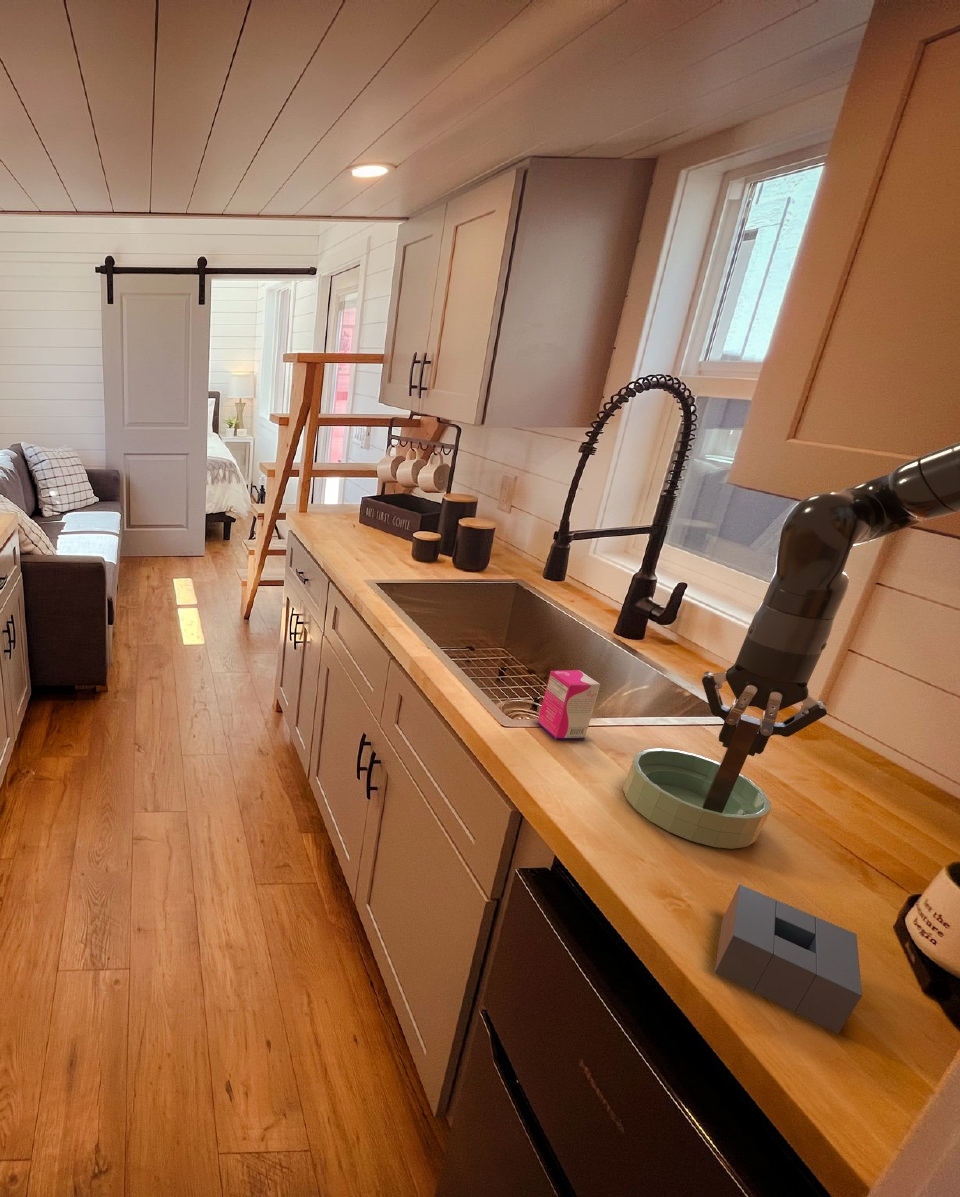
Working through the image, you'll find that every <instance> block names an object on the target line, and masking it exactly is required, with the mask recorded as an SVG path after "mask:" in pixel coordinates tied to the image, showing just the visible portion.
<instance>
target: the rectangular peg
mask: <svg viewBox="0 0 960 1197" xmlns="http://www.w3.org/2000/svg"><path fill="white" fill-rule="evenodd" d="M761 721H762V718H758V717H754V716H752V715H747V714H744V713H743V714H742V715H741V717H740V718H739V720H738V722H737V728H736V731H735V733H734V735H733V738H732V740H731V742H730V745H729V747H728V748H726V747H725V750H724V753H723V755H722V757H721V760H720V762H719V763H720V765H719V767H718V769H717V772H716V774H715V776H714V779H713V781H712V784H711V786H710V788H709V791H708V793H707V795H706V798H705V800H704V803H703V806H702V808H703V809H707V810H711V811H715V812H719V813H723V810H724V808H725V806H726V804H727V801H728V799H729V797H730V794H731V792H732V790H733V788H734V785H735V783H736V781H737V778H738V776H739V774H741V771H742V769H743V767H744V765H745V762H746V760H747V757H748V756H749V755H748V753H749V751H750V748H751V746H752V744H753V742H754V739H755V737H756V735H757V733H758V730H759V728H760V726H761Z"/></svg>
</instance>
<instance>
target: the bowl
mask: <svg viewBox="0 0 960 1197" xmlns="http://www.w3.org/2000/svg"><path fill="white" fill-rule="evenodd" d="M719 765H720V762H718V761H716V760H713V759H710V758H708V757H704V756H702V755H698V754H695V753H692V752H687V751H682V750H677V749H669V748H662V747H661V748H660V747H657V748H656V747H655V748H648V749H643V750H642V751H638V752H637V753H635V754H634V757H633V760H632V762H631V765H630V768H629V770H628V773H627V776H626V779H625V780H624V784H623V787H622V790H623V793H624V796H625V799H626V800H627V802H628V803H629V804H630V805H631V806H632V807H633V809H634V810H635V811H636V812H638V813H639V814H640V815H641V816H643V817H645V818H646V820H648V821H650V822H651V823H653V824H654V825H656V826H658V827H660V828H662V829H663V830H665V831H667V832H669V833H670V834H674V835H676V836H678V837H681V838H683V839H685V840H688V841H690V842H694V843H697V844H700V845H706V846H709V847H713V848H720V849H721V848H722V849H730V850H731V849H732V850H733V849H741V848H747V847H750V846H751V845H752V844H754V843H755V842H756V841H757V840H758V837H759V836H760V833H761V831H762V829H763V827H764V825H765V823H766V820H768V817H769V815H770V812H771V806H772V801H771V800H770V799H769V797H768V795H767V794H766V792H765V791H764V790H763V789H762V788H760V787H759V786H758V785H757V783H755V782H754V781H753V780H751V779H750V778H749V777H746V776H745V775H743V774H742V773H740V774H739V776H738V778H737V781H736V783H735V785H734V788H733V790H732V792H731V794H730V797H729V799H728V801H727V804H726V806H725V808H724V810H723V813H719V812H715V811H711V810H707V809H703V808H702V806H703V803H704V800H705V798H706V795H707V793H708V791H709V788H710V786H711V784H712V781H713V779H714V776H715V774H716V772H717V769H718V767H719Z"/></svg>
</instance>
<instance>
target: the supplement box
mask: <svg viewBox="0 0 960 1197" xmlns="http://www.w3.org/2000/svg"><path fill="white" fill-rule="evenodd" d="M600 688H601V684H600V683H599V682H598V681H596V680H594V678H591V677H590V676H589V675H587V674H586V673H584V672H583V671H581V670H580V669H575V670H571V669H570V670H551V671H550V673H549V676H548V680H547V684H546V688H545V692H544V695H543V698H542V704H541V708H540V711H539V714H538V718H537V723H536V724H537V725H539V727H540V728H542V729H543V730H544V732H546V733H547V734H548V735H549V736H551V738H552V739H553V740H555V741H580V740H581V741H582V740H583V741H585V740H586V736H587V732H588V729H589V726H590V722H591V719H592V716H593V711H594V708H595V705H596V701H597V698H598V694H599V691H600Z"/></svg>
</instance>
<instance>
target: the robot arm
mask: <svg viewBox="0 0 960 1197" xmlns="http://www.w3.org/2000/svg"><path fill="white" fill-rule="evenodd" d="M956 513H960V441H958V442H955V443H953V444H951V445H948V446H945V447H943V448H939V449H937V450H935V451H931V452H929V453H927V454H924V455H922V456H919V457H916V458H914V459H912V460H910V461H907V462H905V463H903V464H901V465H898V466H897V467H896V468H894V469H893V470H892V472H890V473H887V474H884V475H881V476H879V477H876V478H873V479H871V480H867V481H865V482H862V483H860V484H857V485H853V486H851V487H848V488H845V489H842V490H841V489H840V490H837V491H831V492H830V491H829V492H823V493H817V494H813V495H810V496H807V497H806V498H804V499H802V500H801V501H799V502H798V503H796V505H794V506H793V507H792V509H791V510H790V511H789V513H788V514H787V517H786V518H785V520H784V522H783V524H782V527H781V530H780V534H779V535H780V536H779V539H778V547H777V552H776V560H775V572H774V574H773V576H772V578H771V580H770V583H769V585H768V587H767V590H766V593H765V595H764V598H763V600H762V602H761V604H760V605H759V607H758V609H757V611H756V612H755V614H754V616H753V618H752V620H751V623H750V625H749V626H748V629H747V633H746V635H745V638H744V640H743V643H742V645H741V647H740V650H739V653H738V655H737V658H736V660H735V662H734V664H733V665H732V666H731V667H729V668H727V670H726V671H725V672H716V673H714V672H712V671H705V672H704V673H703V675H702V677H701V678H702V679H701V683H702V686H703V689H704V692H705V696H706V699H707V703H708V706H709V709H710V713H711V714H712V715H713V717H719V718H720V719H722V720H723V724H722V727H721V729H720V732H719V733H718V742H720V743H722V745H721V747H723V748H725V749H726V748H728V747H729V745H730V742H731V740H732V738H733V735H734V733H735V731H736V728H737V722H738V720H739V718H740V717H741V715H742V714H744V713H745V711H746V710H747V708H748V707H753V708H758V709H760V710H762V711H763V713H762V718H761V726H760V728H759V730H758V733H757V735H756V737H755V739H754V742H753V744H752V746H751V748H750V751H749V753H748V756H751V757H755V755H756V754H757V755H761V754H762V753H764V750H765V748H766V746H767V744H768V742H769V739H770V737H772V736H781V737H783V738H788V737H791V736H793V735H794V734H797V733H798V732H800V731H801V730H803V729H805V728H806V727H808V726H810V725H812V724H813V723H815V722H817V721H819V720H820V719H822V718H823V717H826V716H827V715H828V708H827V704H826V703H825V702H824V701H820V700H817V699H815V698H813V697H812V695H811V696H810V694H809V688H808V685H809V682H810V680H811V677H812V675H813V673H814V670H815V669H816V666H817V665H818V662H819V659H820V658H821V655H822V653H823V651H824V650H825V649H826V647H827V645H828V644H827V643H828V640H829V638H830V635H831V632H832V629H833V625H834V621H835V619H836V616H837V613H838V612H839V609H840V608H841V605H842V603H843V601H844V598H845V596H846V593H847V591H848V588H849V583H850V578H849V576H848V575H847V573H846V572H844V571H845V568H846V565H847V562H848V559H849V556H850V554H851V551H852V549H853V547H854V546H857V545H862V544H866V543H868V542H871V541H874V540H875V541H876V540H877V539H880V538H883V537H885V536H888V535H892V534H894V533H897V532H901V531H902V530H906V529H908V528H910V527H913V526H915V525H918V524H920V523H923V522H926V521H928V520H932V519H938V518H941V517H946V516H949V515H952V514H956ZM724 682H727V684H728V686H729V687H730V688H729V689H731V692H732V694H733V696H734V700H733V701H732V703H731V705H730V707H729V708H728V707H727V706H725V705H724V703H723V699H722V695H721V693H720V690H721V689H722V688H723V686H724ZM799 703H802V704H800V706H799V707H800V708H799V711H797V713H795V714H793V715H791V716H790V717H788V718H786V719H785V720H783V721H781V722H776V721H777V717H778V713H779V711H783V710H785V709H787V708H789V707H791V706H794V705H796V704H799Z"/></svg>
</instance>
